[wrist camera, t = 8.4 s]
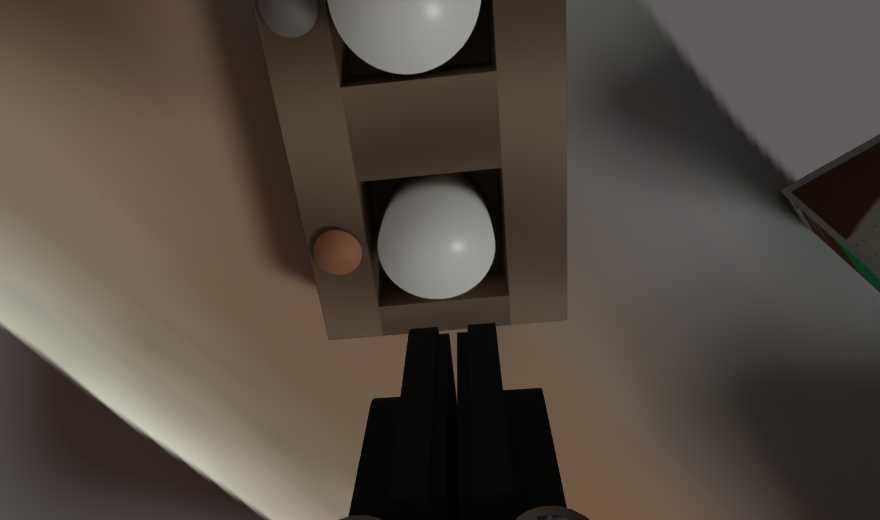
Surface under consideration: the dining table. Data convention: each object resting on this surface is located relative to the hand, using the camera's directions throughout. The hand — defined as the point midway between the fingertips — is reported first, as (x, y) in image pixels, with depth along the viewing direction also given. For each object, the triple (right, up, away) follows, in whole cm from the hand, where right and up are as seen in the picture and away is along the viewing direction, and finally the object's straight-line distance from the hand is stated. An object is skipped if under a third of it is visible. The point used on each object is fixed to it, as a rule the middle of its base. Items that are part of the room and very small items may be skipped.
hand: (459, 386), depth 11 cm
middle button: (-1, +10, +5) cm, 11 cm away
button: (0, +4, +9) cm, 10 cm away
